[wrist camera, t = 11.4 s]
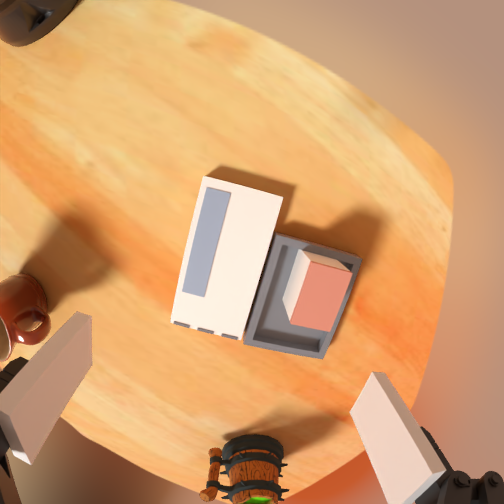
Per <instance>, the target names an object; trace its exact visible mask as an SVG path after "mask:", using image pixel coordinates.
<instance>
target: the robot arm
mask: <svg viewBox="0 0 504 504" xmlns="http://www.w3.org/2000/svg"><path fill="white" fill-rule="evenodd" d="M77 1H78V0H0V39H1V40H3V41H4V42H6V43H8V44H10V45H12V46H16V47H20V46H25V45H28V44H31V43H33V42H35V41H36V40H38V39H40V38H41V37H43V36H44V35H46V34H47V33H48V32H50V31H51V30H52V29H53V28H54V27H55V26H57V25H58V24H59V23H60V22H61V21H62V20H63V19H64V18H65V17H66V15H67V14H68V13H69V12H70V11H71V9H72V8H73V7H74V5H75V4H76V3H77ZM91 366H92V316H89V315H86V314H83V313H80V312H76V313H75V314H74V315H73V316H72V317H71V318H70V319H69V320H68V321H67V322H66V323H65V324H64V325H63V326H62V327H61V328H60V329H59V330H58V331H57V332H56V333H55V334H54V335H53V336H52V337H51V338H50V339H49V340H48V341H47V342H46V343H45V344H44V345H43V346H42V347H41V349H40V350H39V351H38V352H37V353H36V354H35V355H34V356H33V357H32V358H31V359H30V360H27V359H24V358H22V357H19V358H17V359H15V360H13V361H11V362H9V363H8V365H7V366H6V367H5V368H4V369H3V371H1V372H0V504H22V503H21V500H20V498H19V494H18V492H17V488H16V486H15V482H14V479H13V475H12V472H11V468H10V464H9V460H8V457H7V455H6V452H7V450H8V449H9V447H10V448H11V450H12V452H13V454H14V456H16V457H18V458H19V459H21V460H23V461H25V462H26V463H28V464H30V465H32V463H33V462H34V460H35V458H36V456H37V454H38V452H39V451H40V449H41V447H42V445H43V444H44V442H45V440H46V438H47V437H48V435H49V433H50V431H51V430H52V428H53V426H54V425H55V423H56V421H57V420H58V418H59V416H60V415H61V413H62V411H63V410H64V408H65V407H66V405H67V403H68V402H69V400H70V398H71V397H72V395H73V394H74V392H75V391H76V389H77V387H78V386H79V384H80V383H81V381H82V380H83V378H84V377H85V375H86V373H87V372H88V370H89V369H90V367H91ZM350 414H351V416H352V418H353V421H354V423H355V425H356V428H357V430H358V432H359V435H360V437H361V439H362V442H363V444H364V447H365V449H366V451H367V454H368V456H369V458H370V461H371V463H372V466H373V468H374V470H375V473H376V475H377V478H378V480H379V482H380V485H381V487H382V490H383V492H384V495H385V497H386V500H387V502H388V504H412V503H413V502H414V501H415V503H416V504H504V482H503V479H502V477H501V476H500V475H499V474H498V473H496V472H494V471H488V472H487V473H485V475H484V476H482V477H481V478H480V479H470V477H469V476H468V475H467V474H466V473H464V472H462V471H454V470H453V469H452V467H451V466H450V464H449V463H448V461H447V460H446V458H445V456H444V455H443V453H442V452H441V450H440V449H439V447H438V445H437V444H436V443H435V440H434V439H433V438H432V436H431V434H430V433H429V432H428V431H426V430H425V429H424V428H423V427H420V426H419V425H418V423H417V422H416V420H415V418H414V417H413V416H412V414H411V412H410V411H409V409H408V408H407V406H406V404H405V403H404V401H403V400H402V398H401V397H400V395H399V394H398V392H397V391H396V389H395V388H394V386H393V385H392V383H391V382H390V380H389V379H388V377H387V376H386V374H385V373H383V372H372V373H371V375H370V377H369V379H368V381H367V382H366V384H365V386H364V388H363V390H362V392H361V393H360V395H359V397H358V399H357V400H356V402H355V404H354V406H353V407H352V409H351V411H350Z"/></svg>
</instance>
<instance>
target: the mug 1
mask: <svg viewBox="0 0 504 504" xmlns="http://www.w3.org/2000/svg"><path fill="white" fill-rule="evenodd" d="M46 312H47V301H46V296H45V293H44V291H43V289H42V288H41V286H40V285H39V283H38V282H37V281H36V280H35V279H34V278H33V277H31V276H30V275H27V274H17V275H13V276H10V277H8V278H7V279H5V280H3V281H1V282H0V361H1V362H2V361H6V360H7V359H8V358H9V357H10V355H11V353H12V351H13V349H14V347H15V345H16V343H22V344H26V345H35V344H38V343H40V342H41V341H43V340H44V339H45V338H46V337H47V335H48V334H49V332H50V329H51V320H50V317H49V315H48V314H47V313H46ZM40 323H42V324H41V325H40V326H39V327H38V328H37V329H35V330H33V329H34V328H36V327H37V326H38V325H39V324H40ZM32 330H33V331H32Z"/></svg>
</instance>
